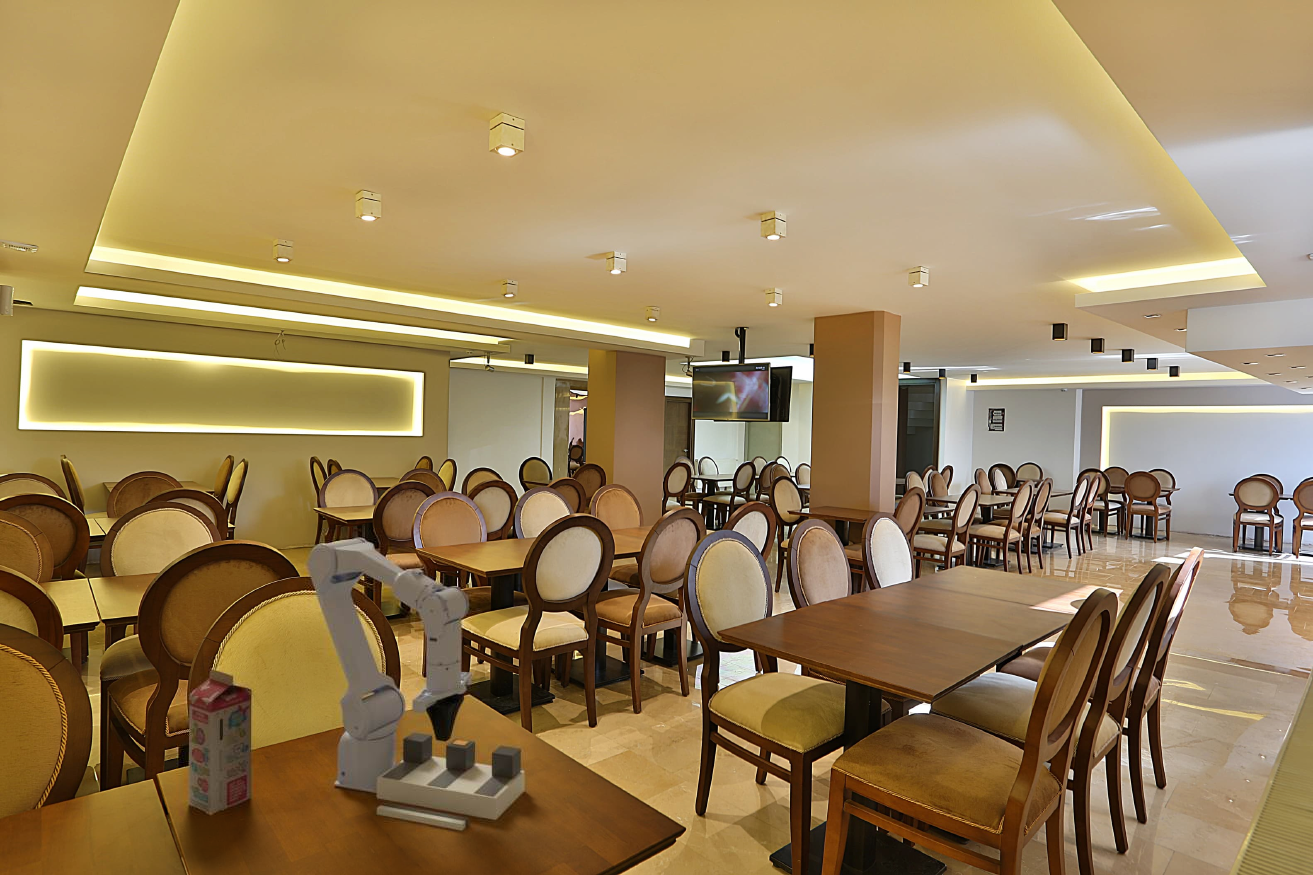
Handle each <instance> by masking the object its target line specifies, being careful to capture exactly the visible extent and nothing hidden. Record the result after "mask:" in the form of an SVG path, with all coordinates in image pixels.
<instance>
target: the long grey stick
mask: <svg viewBox="0 0 1313 875" xmlns="http://www.w3.org/2000/svg"><path fill="white" fill-rule="evenodd" d="M376 815H379V816H384V817H389V818H395V819H399V820H405V821H409V822H416V823H419V824H420V823H421V824H426V825H432V826H436V827H442V828H448V829H452V830H457V831H463V830H465V828H466V827H468V825H469V817H465V816H459V815H454V814H453V815H452V814H450V813H449V814H448V813H443V812H438V811H437V812H436V811H432V810H428V809H427V810H426V809H421V808H417V807H410V806H406V805H400V804H393V803H387V802H383V803H382V804H381V805H379V806H378V807H376Z"/></svg>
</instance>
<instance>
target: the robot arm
mask: <svg viewBox="0 0 1313 875" xmlns="http://www.w3.org/2000/svg"><path fill="white" fill-rule="evenodd" d="M305 565H306V568H307V571H308V573H309V576H310V579H311V583H312V585H313V587H314V590H315V592H316V598H317V600H318V603H319V606H320V609H321V612H322V615H323V617H324V620H325V623H326V626H327V629H328V631H329V634H330V636H331V639H332V643H333V645H334V648H335V651H336V654H337V656H338V660H339V662H340V664H341V668H342V671H343V674H344V676H345V679H346V682H347V684H348V686H347V688H346V690H345V691H344V693H343V695H342V697H341V698H340V700H339V704H340V708H341V711H342V712H341V714H342V724H343V727H344V729H345V731H344V733H343V734H342V736H341V737H340V739H339V742H338V746H337V780H335V782H334V783H333V785H334V786H336V787H341V788H346V789H352V790H357V791H362V792H368V793H373V794H377V777H379V776H380V775H382V774H383V773H384V772H386V771H387V770H389V769H390V768H392V767H393V766H395V765H396V749H397V748H396V736H397V735H396V734H397V733H396V732H397V731H396V730H397V727H399V725H400V722H399V720H400V719H402V717H404V715H405V712H406V707H407V706H406V699H405V697H404V695H403V693H402V691H400V689H399V688H398V687H397V685H396V683H395V681H394V679H393V678H392V677H391V676H389V675H386V674H384V673H382V672H380V671H379V668H378V665H377V663H376V659H375V657H374V654H373V652H372V648H371V646H370V643H369V641H368V639H367V635H366V633H365V629H364V628H363V624H362V621H361V619H360V617H359V614H358V610H357V608H356V606H355V602H354V601H353V598H352V597H353V596H352V590H353V588H354V586H355V585H357V583H358V582H359V580H360V579H361V578H362V577H363V575H364V574H365V575H367V576H368V577H371V578H373V579H375V580H376V581H378V582H381V583H382V584H384V585H386V586H387V587H390V588H392V595H393V597H394V598H395V599H397V600H398V601H400V602H402V603H404V604H405V605H406V606H408V607H409V608H411V609H413V610H415V611H416V612H418V614H419V618H420V619H421V622H422V623H423V627H424V634H425V637H426V663H425V664H426V665H425V666H426V669H425V670H426V674H425V675H426V678H425V679H426V683H425V686H424V687H423V689H422V690H421V691H420V692H419V694H418V695H417V696H416V697H415V698H413V699H412V707H411V708H412V712H414V713H420V714H423V713H425V712H426V714H427V715H428V718H429V719H430V722H431V725H432V729H433V733H434V738H435V740H436V741H439V742H440V741H441V742H448V741H449V740H450V739H451V737H452V733H453V729H454V726H455V722H456V719H457V715H458V712H459V710H460V709H461V706H462V704H463V702H464V701H465V695H464V693H465V692H466V691H467V686H470V685H472V683H473V681H472V680H473V679H472V678H473V676H472V672H466V671H462V626H463V625H462V619H464V617H465V616H466V615H467V614H468V612H469V608H470V607H469V606H470V603H469V598H468V596H467V594H466V592H464V590H462V589H461V587H459V586H456V585H455V586H452V585H451V586H449V587H447V586H444V585H443V583H442V582H440V581H435V580H434V579H432V578H431V577H429V576H426V575H425V574H424V571H423V570H422V569H420V568H416V569H414V568H409V569H407V570H403V568H401V567H400V566H398V565H397V564H395V563H394V562H392V561H391V560H390V559H388V558H387V557H386V556H384V555H382V554H381V553H380V552H379V551H377V550H376V548H375V545H374V543H372V542H369V541H367V540H366V539H365V538H363V537H354V538H352V539H347V540H346V539H345V540H342V541H341V540H340V541H335V542H334V541H333V542H328V543H319V544H316V545H315V546H314V547H313V548H312V549H311V551H310V553H309V557H308V560H307V562H306V564H305ZM369 694H371V695H369ZM365 695H368V696H365ZM364 696H365V697H364Z"/></svg>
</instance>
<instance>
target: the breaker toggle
mask: <svg viewBox="0 0 1313 875" xmlns="http://www.w3.org/2000/svg"><path fill="white" fill-rule="evenodd" d="M445 758H446V768H448V769H454V770H460V771H467V770H468V769H469V768H471V767H472V766H473V765H474V764H475V763H476V741H474V740H468V739H459V738H455V739H453V740H451V741H450V742H449V743H447V744H446V745H445Z"/></svg>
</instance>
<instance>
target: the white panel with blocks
mask: <svg viewBox="0 0 1313 875" xmlns="http://www.w3.org/2000/svg"><path fill="white" fill-rule="evenodd" d="M402 739H403V741H402V749H403V750H402V760H401V761H399V762H398V763H395V766H393V767H392V768H390V769H389V770H387V771H386V772H384V773H383V774H382V775H380V776H379V777H377V793H376V799H380V800H386V801H390V802H396V803H402V804H406V805H413V806H417V807H422V808H428V809H429V808H430V809H435V810H439V811H446V812H451V813H456V814H461V815H462V814H463V815H466V816H472V817H477V818H484V819H488V820H489V819H490V820H493V821H496V820H497V819H499V817H500V816H502V814H503V813H504V812H505V811H506V810H507V809H508V808H509V807H510V806H511V805H512V804H513V803H514V802H516V801H517V799H518V798H519V797H520V796H521V795H522V794H523V793H524V792H525V774H526V772H525V770H521V769H522V766H521V764H522V760H521V759H522V748H519V747H513V746H505V745H500V746H498V747H497V748H496V749H494V750H493V751H492V752H491V765H490V764H489V765H488V764H483V763H478V762H475V764H474V765H473V766H472V767H471V768H469V769H468V770H467V771H460V770H454V769H448V768H446V757H439V756H434V755H433V735H432V734H428V733H427V734H425V733H419V732H412V733H410V734H408V735H407V736H406V737H404V738H402Z"/></svg>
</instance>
